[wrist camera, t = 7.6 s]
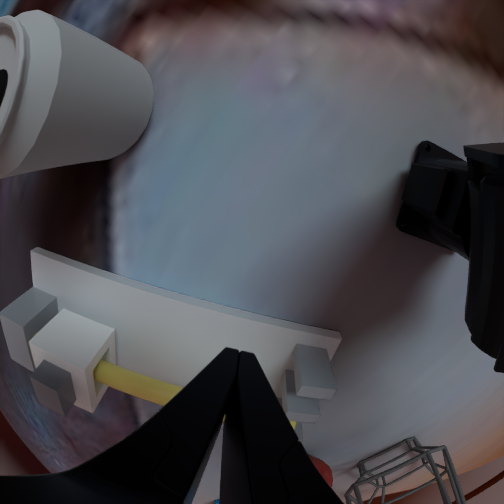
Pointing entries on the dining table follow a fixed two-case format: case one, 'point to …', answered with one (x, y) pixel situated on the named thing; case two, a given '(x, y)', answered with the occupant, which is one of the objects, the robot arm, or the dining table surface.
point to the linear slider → (171, 336)
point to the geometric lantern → (424, 455)
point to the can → (65, 95)
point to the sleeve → (70, 361)
